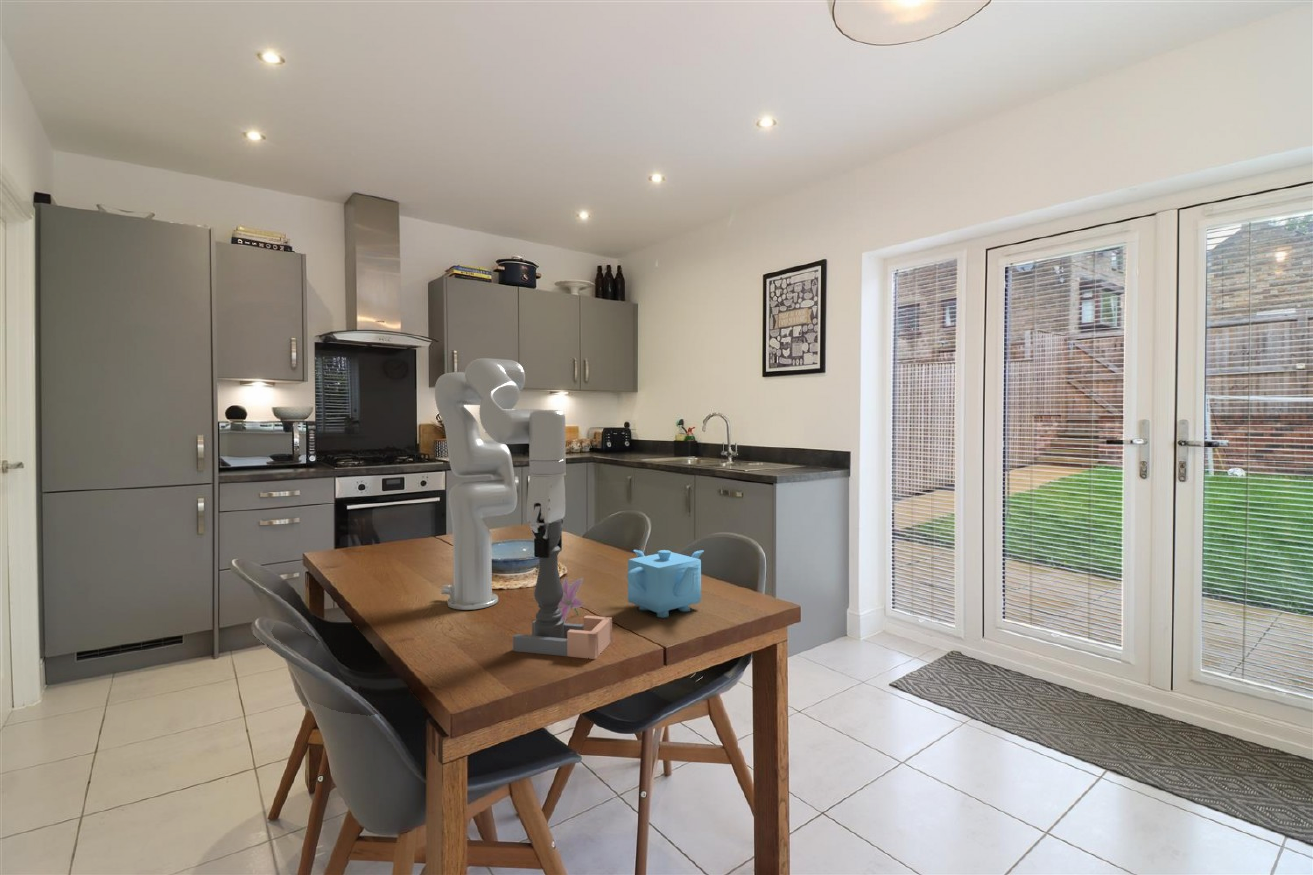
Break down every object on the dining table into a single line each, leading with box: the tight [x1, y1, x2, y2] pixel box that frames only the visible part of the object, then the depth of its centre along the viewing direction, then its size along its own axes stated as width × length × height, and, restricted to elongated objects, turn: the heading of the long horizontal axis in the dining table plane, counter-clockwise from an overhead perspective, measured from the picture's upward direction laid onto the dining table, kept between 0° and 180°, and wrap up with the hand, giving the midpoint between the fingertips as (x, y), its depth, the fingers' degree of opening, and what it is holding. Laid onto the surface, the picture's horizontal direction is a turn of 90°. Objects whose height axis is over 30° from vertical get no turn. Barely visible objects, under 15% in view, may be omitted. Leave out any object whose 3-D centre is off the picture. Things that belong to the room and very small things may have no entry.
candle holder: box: [533, 519, 564, 638], centre depth 130 cm, size 6×6×25 cm
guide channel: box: [512, 615, 613, 660], centre depth 129 cm, size 18×10×5 cm, turn 76°
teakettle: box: [626, 549, 705, 619], centre depth 154 cm, size 19×19×15 cm
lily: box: [558, 576, 585, 623], centre depth 146 cm, size 12×12×10 cm
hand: (548, 553), depth 129 cm, fingers closed on candle holder, 5 cm apart
